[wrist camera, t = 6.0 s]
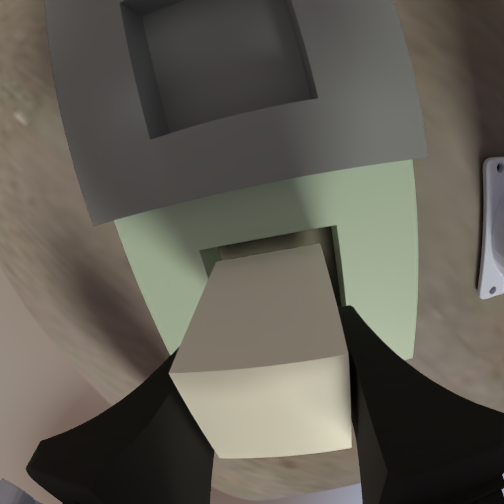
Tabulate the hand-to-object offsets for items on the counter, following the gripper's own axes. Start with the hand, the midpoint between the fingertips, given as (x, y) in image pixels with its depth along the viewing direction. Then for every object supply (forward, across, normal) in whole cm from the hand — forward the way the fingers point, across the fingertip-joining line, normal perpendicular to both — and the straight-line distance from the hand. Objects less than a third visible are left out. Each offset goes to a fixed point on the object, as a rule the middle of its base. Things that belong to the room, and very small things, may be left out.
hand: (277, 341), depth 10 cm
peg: (+2, 0, 0) cm, 2 cm away
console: (+5, 0, -5) cm, 7 cm away
